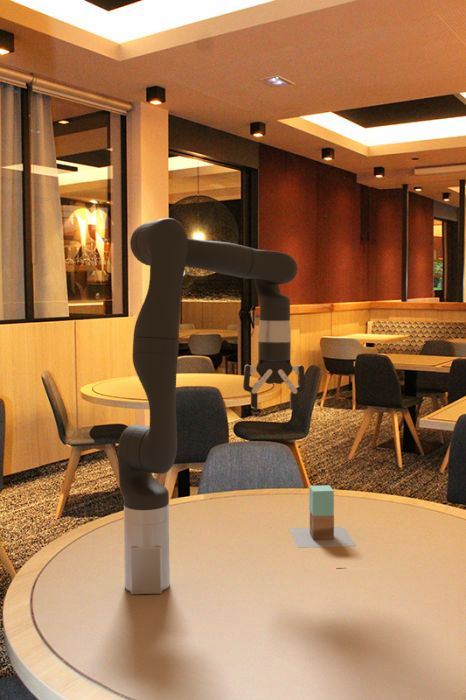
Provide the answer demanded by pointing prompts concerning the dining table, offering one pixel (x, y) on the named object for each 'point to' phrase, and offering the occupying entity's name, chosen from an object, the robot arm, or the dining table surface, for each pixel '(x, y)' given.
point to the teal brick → (321, 500)
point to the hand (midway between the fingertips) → (273, 409)
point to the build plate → (305, 540)
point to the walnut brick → (322, 527)
